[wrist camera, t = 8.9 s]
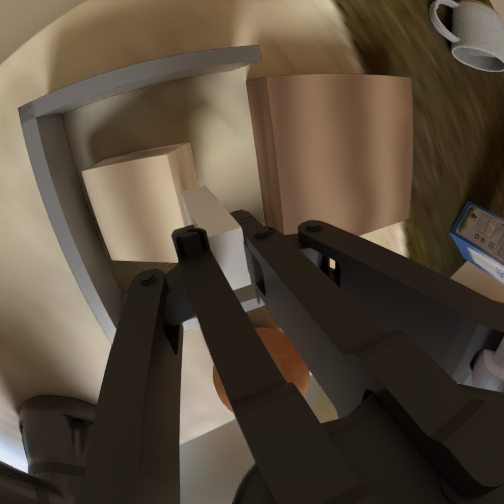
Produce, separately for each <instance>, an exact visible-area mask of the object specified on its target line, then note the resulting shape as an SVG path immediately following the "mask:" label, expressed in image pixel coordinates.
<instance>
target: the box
mask: <svg viewBox="0 0 504 504" xmlns="http://www.w3.org/2000/svg"><path fill="white" fill-rule="evenodd" d="M258 61H261V56H260V50H259V45H251V46H239V47H229V48H220V49H212V50H205V51H198V52H192V53H186V54H180V55H175V56H170V57H165V58H160V59H155V60H151V61H147V62H143V63H139V64H135V65H131V66H127V67H124V68H120V69H117V70H113V71H110V72H107V73H103V74H100V75H97V76H94V77H91V78H88V79H85V80H83V81H80V82H77V83H74V84H72V85H69V86H66V87H64V88H61V89H59V90H56V91H54V92H52V93H49V94H47V95H45V96H42V97H40V98H38V99H36V100H34V101H31V102H29V103H27V104H25V105H23V106H21V107H19V108H18V111H19V116H20V121H21V126H22V130H23V135H24V139H25V143H26V147H27V151H28V154H29V158H30V162H31V165H32V169H33V172H34V175H35V179H36V182H37V185H38V188H39V191H40V194H41V197H42V200H43V203H44V206H45V208H46V211H47V214H48V217H49V219H50V222H51V224H52V227H53V229H54V232H55V234H56V237H57V239H58V242H59V244H60V246H61V249H62V251H63V253H64V256H65V258H66V260H67V262H68V265H69V267H70V269H71V271H72V273H73V275H74V277H75V279H76V281H77V283H78V285H79V288H80V289H81V291H82V293H83V295H84V297H85V299H86V301H87V303H88V305H89V307H90V309H91V311H92V312H93V314H94V316H95V318H96V320H97V321H98V323H99V325H100V327H101V328H102V330H103V332H104V334H105V335H106V337H107V339H108V340H109V342H110V344H111V345H112V343H113V340H114V336H115V333H116V329H117V326H118V323H119V319H120V316H121V313H122V310H123V307H124V303H125V300H126V297H127V294H128V292H126V293H123V294H122V293H121V291H120V289H119V286H118V284H117V282H116V280H115V277H114V275H113V273H112V270H111V268H110V265H109V263H108V261H107V258H106V256H105V253H104V251H103V248H102V246H101V243H100V240H99V238H98V235H97V232H96V230H95V227H94V224H93V222H92V219H91V216H90V213H89V210H88V207H87V204H86V201H85V198H84V195H83V192H82V189H81V185H80V182H79V179H78V176H77V172H76V169H75V165H74V162H73V158H72V154H71V151H70V147H69V143H68V139H67V135H66V130H65V126H64V122H63V117H62V114H63V113H66V112H69V111H71V110H74V109H76V108H79V107H82V106H85V105H88V104H90V103H93V102H96V101H99V100H102V99H105V98H109V97H112V96H115V95H118V94H122V93H125V92H129V91H132V90H136V89H140V88H143V87H147V86H151V85H156V84H160V83H164V82H169V81H173V80H178V79H183V78H188V77H194V76H199V75H205V74H211V73H218V72H225V71H232V70H235V69H237V68H240V67H243V66H246V65H249V64H252V63H255V62H258ZM250 279H251V285H248V286H245V287H242V288H239V289H236V290H233V291H234V293H235V295H236V296H237V298H238V300H239V302H240V303H241V305H242V307H243V309H244V310H245V312H247V311H250V310H253V309H256V308H259V307H262V306H264V305H265V304H264V302H263V301H262V299H261V298H260V304H258V303H257V298H256V292H255V286H254V280H253V278H252V276H251V275H250ZM182 324H183V327H184V332H186V331H189V330H192V329H195V328H199V327H200V325H199V322H198V319H197V316H196V315H195V316H193V317H192V318H190V319H188V320H187V321H185V322H183V323H182Z"/></svg>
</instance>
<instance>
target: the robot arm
mask: <svg viewBox="0 0 504 504" xmlns="http://www.w3.org/2000/svg"><path fill="white" fill-rule="evenodd" d="M180 193H181V197H182V201H183V206H184V210H185V214H186V218H187V222H188V226H186V227H182V228H179V229H176V230H174V231H173V233H172V235H171V237H172V240H173V244H174V247H175V251H176V254H177V257H178V263H177V265H176V266H175V268H173V269H172V270H171V271H169V272H168V273H166V274H164V272H162V271H161V270H158V269H151V270H147V271H143V272H141V273H140V274H138V275H137V276H136V277H135V278H134V279H133V281H132V282H131V285H130V288H129V291H128V294H127V297H126V300H125V303H124V307H123V310H122V313H121V316H120V319H119V323H118V326H117V329H116V333H115V336H114V340H113V343H112V347H111V350H110V354H109V358H108V362H107V365H106V369H105V373H104V377H103V381H102V385H101V390H100V394H99V398H98V403H97V407H95V406H93V405H91V404H88V403H85V402H83V401H79V400H75V399H71V398H66V397H59V396H40V397H35V398H32V399H29V400H27V401H26V402H25V403H24V404H23V405H22V406H21V409H20V415H19V429H20V432H21V435H22V442H23V446H24V450H25V454H26V458H27V461H28V474H27V473H25V472H23V471H21V470H18V469H16V468H14V467H12V466H10V465H8V464H6V463H4V462H2V461H0V504H180V467H179V465H180V461H179V436H180V390H181V366H182V348H183V332H184V327H183V324H182V323H183V322H185V321H187V320H188V319H190V318H192V317H193V316H195V315H196V316H197V319H198V322H199V325H200V328H201V330H202V333H203V336H204V339H205V342H206V344H207V347H208V350H209V352H210V355H211V358H212V360H213V363H214V366H215V368H216V371H217V373H218V376H219V378H220V381H221V384H222V386H223V389H224V391H225V394H226V396H227V398H228V401H229V403H230V406H231V408H232V411H233V413H234V415H235V418H236V420H237V422H238V425H239V427H240V429H241V431H242V434H243V436H244V438H245V440H246V443H247V445H248V447H249V450H250V452H251V454H252V456H253V458H254V461H255V463H254V465H253V466H252V467H251V468H250V469H249V470H248V471H247V473H246V474H245V476H244V477H243V479H242V480H241V482H240V484H239V486H238V489H237V491H236V494H235V497H234V500H233V502H232V504H504V303H501V302H497V301H494V300H491V299H489V298H487V297H485V296H483V295H481V294H479V293H478V292H476V291H474V290H472V289H470V288H468V287H466V286H464V285H462V284H460V283H458V282H456V281H454V280H452V279H450V278H448V277H446V276H444V275H442V274H440V273H438V272H436V271H434V270H432V269H429V268H427V267H425V266H423V265H421V264H419V263H417V262H415V261H413V260H410V259H408V258H406V257H404V256H402V255H400V254H397V253H395V252H393V251H391V250H389V249H386V248H384V247H382V246H380V245H377V244H375V243H373V242H371V241H368V240H366V239H364V238H361V237H359V236H357V235H354V234H352V233H350V232H347V231H345V230H343V229H340V228H338V227H336V226H333V225H331V224H328V223H326V222H323V221H319V220H311V221H310V220H308V221H306V222H303V223H301V224H299V226H298V227H297V229H298V233H297V234H289V235H283V234H282V233H281V232H279V231H278V230H277V229H276V228H274V227H269V226H263V225H262V224H261V223H260V222H259V221H258V220H256V219H255V218H254V217H253V216H252V215H251V214H250V213H249V212H247V211H244V210H239V211H235V212H232V213H229V212H228V211H227V210H226V209H225V208H224V207H223V205H222V204H221V203H220V202H219V201H218V200H217V198H216V197H215V196H214V195H213V194H212V193H211V192H210V190H209V189H208V188H207V187H206V186H202V187H198V188H194V189H190V190H187V191H183V192H180ZM330 258H331V259H333V260H334V261H335V269H333V268H331V267H330ZM250 275H251V276H252V278H253V280H254V286H255V292H256V298H257V303H258V304H260V298H261V299H262V301H263V302H264V304H265V305H266V307H267V308H268V310H269V311H270V313H271V314H272V316H273V317H274V318H275V320H276V321H277V323H278V324H279V326H280V327H281V329H282V330H283V332H284V333H285V335H286V336H287V338H288V339H289V341H290V342H291V344H292V345H293V347H294V348H295V350H296V351H297V353H298V354H299V356H300V357H301V358H302V360H303V361H304V363H305V364H306V366H307V367H308V369H309V370H310V372H311V373H312V375H313V376H314V377H315V379H316V380H317V382H318V383H319V385H320V386H321V387H322V389H323V391H324V392H325V393H326V395H327V396H328V398H329V399H330V401H331V402H332V404H333V405H334V407H335V408H336V411H337V414H338V418H339V419H337V420H333V421H329V422H325V423H320V422H319V421H318V419H317V417H316V416H315V415H314V413H313V411H312V410H311V408H310V407H309V405H308V403H307V402H306V400H305V399H304V397H303V396H302V394H301V392H300V391H299V389H298V388H297V387H296V385H295V384H294V383H292V382H289V383H288V382H287V381H286V380H285V379H284V377H283V375H282V374H281V372H280V370H279V369H278V367H277V365H276V364H275V362H274V360H273V359H272V357H271V355H270V354H269V352H268V350H267V349H266V347H265V345H264V343H263V342H262V340H261V338H260V337H259V335H258V333H257V331H256V330H255V328H254V326H253V324H252V323H251V321H250V319H249V317H248V316H247V314H246V312H245V310H244V309H243V307H242V305H241V303H240V302H239V300H238V298H237V296H236V295H235V293H234V291H233V290H236V289H239V288H242V287H245V286H248V285H251V279H250ZM457 382H458V383H460V384H458V383H457Z"/></svg>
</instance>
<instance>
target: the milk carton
mask: <svg viewBox="0 0 504 504" xmlns="http://www.w3.org/2000/svg"><path fill="white" fill-rule="evenodd" d="M449 233H450V234H451V236H452V238H453V240H454V241H455V243H456V245H457V247H458V249H459V251H460V252H461V254H462V256H463V258H465V259H466V260H468V261H469V262H471V263H472V264H474V265H475V266H477V267H478V268H480V269H482V270H483V271H484V272H486V273H487V274H489V275H490V276H492V277H493V278H494V279H496V280H497V281H499V282H500V283H502V284H503V285H504V219H503V218H501V217H500V216H498V215H496V214H494V213H492V212H490V211H488V210H486V209H484V208H482V207H480V206H478V205H476V204H474V203H472V202H470V201H467V203H466V204H465V206H464V208H463V210H462V212H461V213H460V215H459V217H458V219H457V220H456V222H455V224H454V225H453V227H452V229H451V230H450V232H449Z"/></svg>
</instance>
